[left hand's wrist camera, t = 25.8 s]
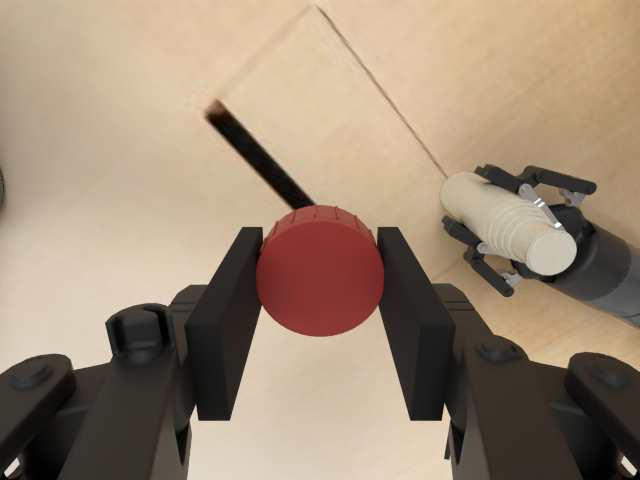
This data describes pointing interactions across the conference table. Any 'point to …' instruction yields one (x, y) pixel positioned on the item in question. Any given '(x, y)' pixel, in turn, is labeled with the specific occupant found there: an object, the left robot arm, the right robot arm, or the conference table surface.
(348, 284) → the cap
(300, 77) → the conference table surface
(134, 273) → the conference table surface
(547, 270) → the bottle
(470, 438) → the left robot arm
